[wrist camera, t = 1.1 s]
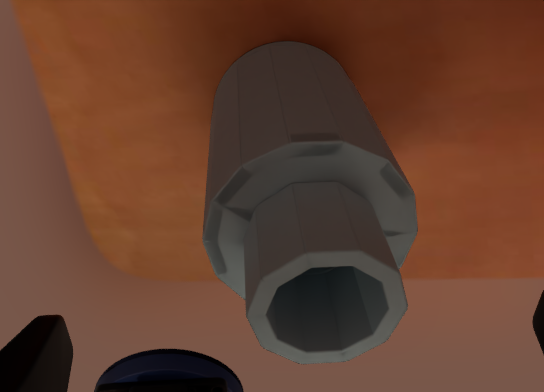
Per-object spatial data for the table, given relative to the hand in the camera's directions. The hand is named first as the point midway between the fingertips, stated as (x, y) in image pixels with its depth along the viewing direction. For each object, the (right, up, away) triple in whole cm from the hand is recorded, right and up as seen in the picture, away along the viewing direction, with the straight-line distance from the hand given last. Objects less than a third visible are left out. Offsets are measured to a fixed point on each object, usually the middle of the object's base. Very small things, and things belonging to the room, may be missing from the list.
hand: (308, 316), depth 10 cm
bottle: (0, +5, +9) cm, 11 cm away
